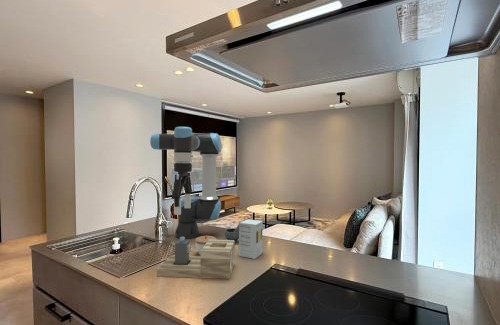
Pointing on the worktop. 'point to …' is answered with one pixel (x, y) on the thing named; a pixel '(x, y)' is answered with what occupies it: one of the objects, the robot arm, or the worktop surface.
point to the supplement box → (250, 238)
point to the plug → (182, 252)
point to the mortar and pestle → (232, 234)
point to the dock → (204, 262)
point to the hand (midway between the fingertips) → (182, 211)
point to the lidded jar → (202, 242)
